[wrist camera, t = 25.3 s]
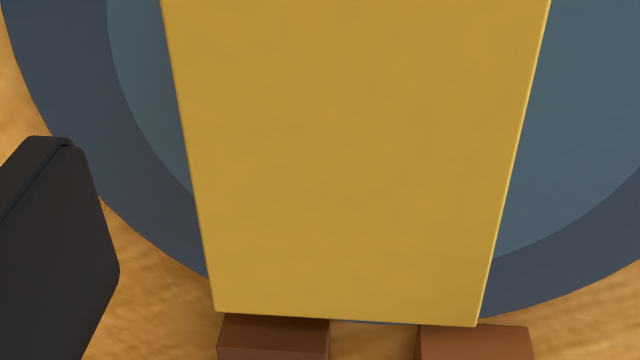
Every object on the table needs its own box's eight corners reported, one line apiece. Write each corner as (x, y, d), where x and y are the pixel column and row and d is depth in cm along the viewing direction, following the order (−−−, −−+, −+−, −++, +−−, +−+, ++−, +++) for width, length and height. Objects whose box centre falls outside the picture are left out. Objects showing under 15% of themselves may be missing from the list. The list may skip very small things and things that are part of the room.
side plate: (-138, -489, 12) (-186, -508, 11) (1094, -537, 10) (1170, -564, 9) (111, 286, 25) (100, 309, 24) (657, 318, 23) (670, 344, 22)
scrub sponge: (216, -178, 13) (134, -128, 9) (515, -178, 13) (582, -125, 8) (251, 180, 19) (213, 313, 15) (455, 189, 19) (476, 329, 15)
